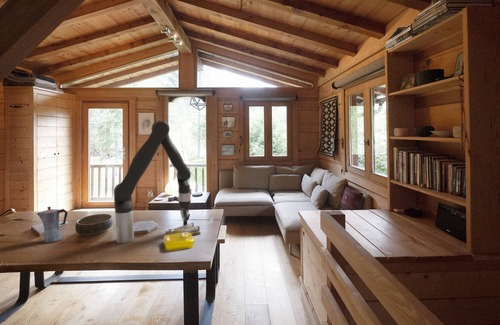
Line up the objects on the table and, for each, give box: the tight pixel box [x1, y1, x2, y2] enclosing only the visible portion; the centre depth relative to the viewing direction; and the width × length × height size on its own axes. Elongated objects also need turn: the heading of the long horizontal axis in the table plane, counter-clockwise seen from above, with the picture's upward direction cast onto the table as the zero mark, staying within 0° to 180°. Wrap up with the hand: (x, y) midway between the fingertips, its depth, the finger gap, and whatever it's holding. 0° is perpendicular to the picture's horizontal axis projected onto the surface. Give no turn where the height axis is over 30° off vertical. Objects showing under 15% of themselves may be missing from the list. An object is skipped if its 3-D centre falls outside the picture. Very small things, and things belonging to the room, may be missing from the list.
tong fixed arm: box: [168, 225, 200, 234], centre depth 172 cm, size 19×4×3 cm, turn 120°
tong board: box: [165, 230, 201, 237], centre depth 173 cm, size 18×12×2 cm, turn 120°
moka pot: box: [36, 206, 68, 244], centre depth 163 cm, size 10×15×20 cm, turn 111°
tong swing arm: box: [173, 222, 195, 230], centre depth 176 cm, size 15×2×2 cm, turn 142°
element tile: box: [163, 232, 195, 252], centre depth 156 cm, size 15×15×5 cm
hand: (185, 226), depth 180 cm, fingers closed
